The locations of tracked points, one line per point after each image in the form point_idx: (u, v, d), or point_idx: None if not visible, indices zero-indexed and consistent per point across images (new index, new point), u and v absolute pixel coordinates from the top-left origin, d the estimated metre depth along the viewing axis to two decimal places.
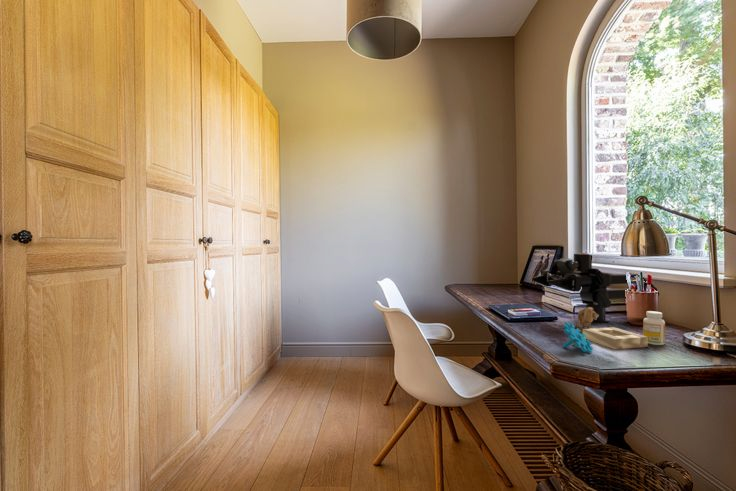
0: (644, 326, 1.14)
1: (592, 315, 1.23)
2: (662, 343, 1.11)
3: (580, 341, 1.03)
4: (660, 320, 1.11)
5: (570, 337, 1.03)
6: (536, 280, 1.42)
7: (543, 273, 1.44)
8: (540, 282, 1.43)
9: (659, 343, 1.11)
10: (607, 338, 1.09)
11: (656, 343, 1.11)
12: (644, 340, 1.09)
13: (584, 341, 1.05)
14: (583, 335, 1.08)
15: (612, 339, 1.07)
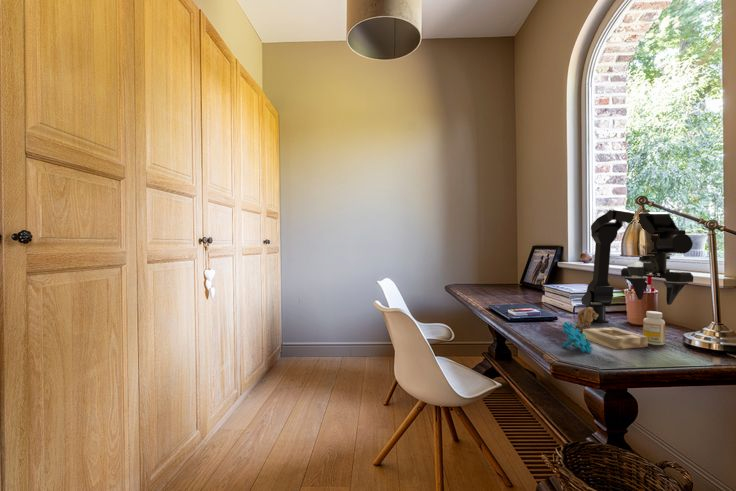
0: (644, 326, 1.14)
1: (592, 315, 1.23)
2: (662, 343, 1.11)
3: (579, 341, 1.04)
4: (660, 320, 1.11)
5: (569, 337, 1.03)
6: (641, 294, 1.17)
7: (631, 281, 1.18)
8: (643, 288, 1.18)
9: (659, 343, 1.11)
10: (607, 338, 1.09)
11: (656, 343, 1.11)
12: (644, 340, 1.09)
13: (583, 341, 1.05)
14: (583, 335, 1.08)
15: (612, 339, 1.07)
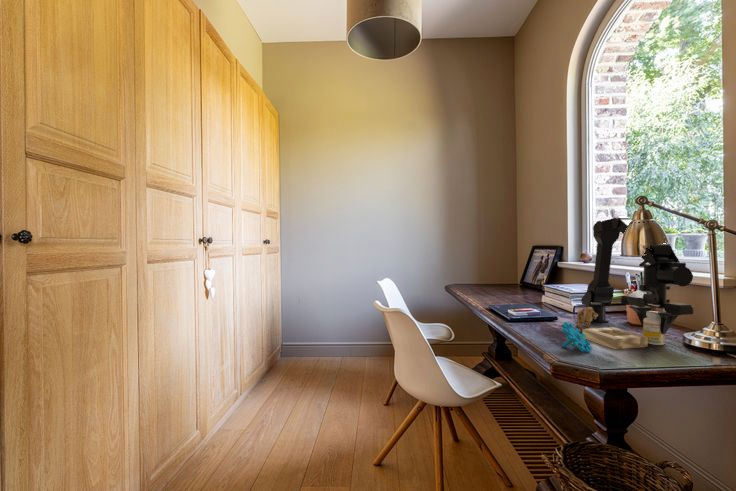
0: (644, 326, 1.14)
1: (592, 314, 1.24)
2: (662, 343, 1.11)
3: (578, 341, 1.04)
4: (660, 320, 1.11)
5: (568, 336, 1.03)
6: None
7: (636, 310, 1.17)
8: None
9: (659, 343, 1.11)
10: (607, 338, 1.09)
11: (656, 343, 1.11)
12: (644, 340, 1.09)
13: (583, 341, 1.05)
14: (582, 335, 1.08)
15: (612, 339, 1.07)
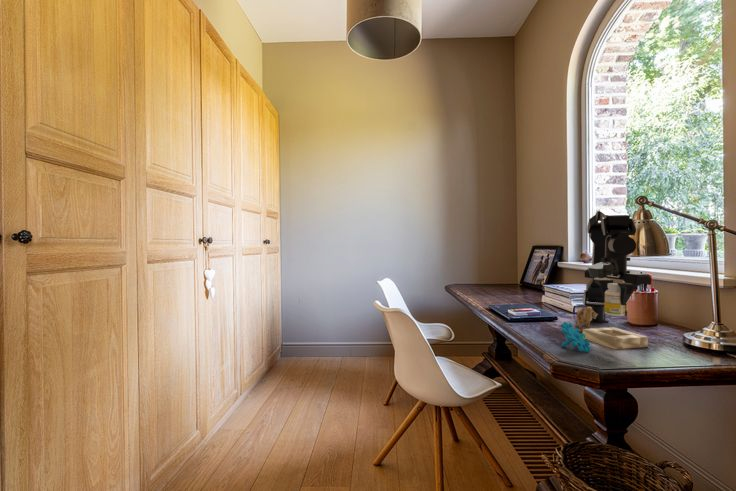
0: (605, 298, 1.14)
1: (591, 314, 1.24)
2: (622, 314, 1.11)
3: (577, 340, 1.04)
4: (620, 291, 1.11)
5: (567, 336, 1.03)
6: None
7: (598, 283, 1.17)
8: None
9: (619, 314, 1.11)
10: (607, 338, 1.09)
11: (616, 314, 1.11)
12: (644, 340, 1.09)
13: (582, 341, 1.05)
14: (582, 335, 1.08)
15: (612, 339, 1.07)
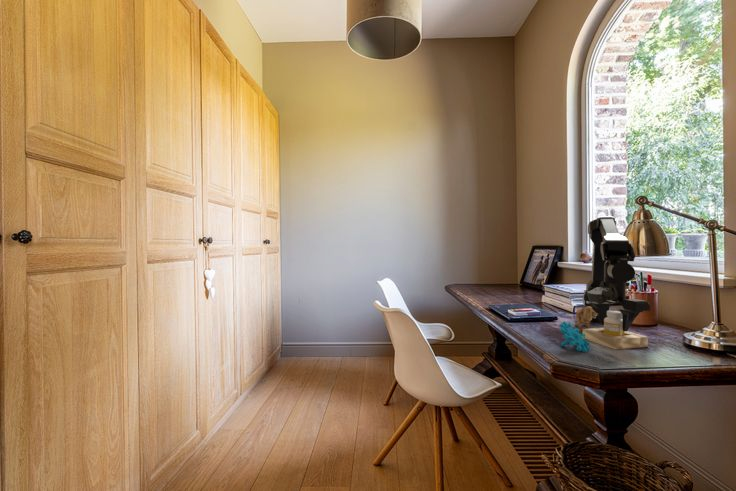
0: (604, 325, 1.14)
1: (591, 314, 1.25)
2: None
3: (576, 340, 1.04)
4: (619, 319, 1.12)
5: (565, 336, 1.04)
6: None
7: (595, 306, 1.18)
8: (606, 313, 1.18)
9: None
10: (607, 338, 1.09)
11: None
12: (644, 340, 1.09)
13: (581, 340, 1.06)
14: (581, 335, 1.08)
15: (612, 339, 1.07)
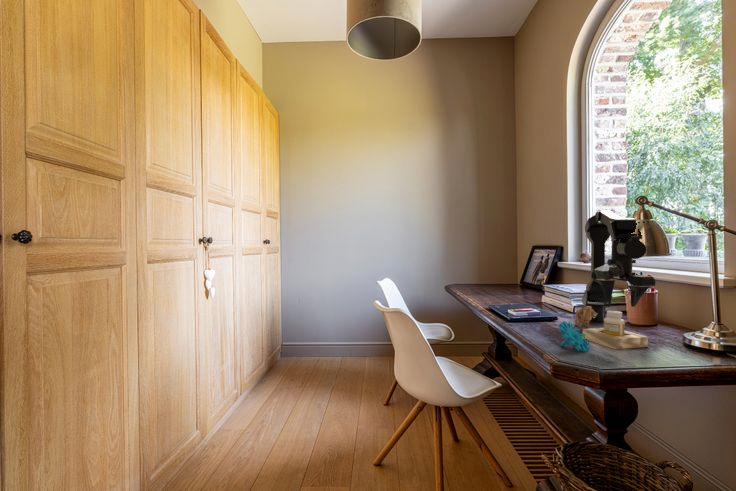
0: (604, 325, 1.14)
1: (591, 313, 1.25)
2: None
3: (575, 340, 1.05)
4: (619, 320, 1.11)
5: (564, 336, 1.04)
6: (610, 296, 1.23)
7: (600, 283, 1.24)
8: (611, 289, 1.23)
9: None
10: (607, 338, 1.09)
11: None
12: (644, 340, 1.09)
13: (580, 340, 1.06)
14: (581, 334, 1.08)
15: (612, 339, 1.07)
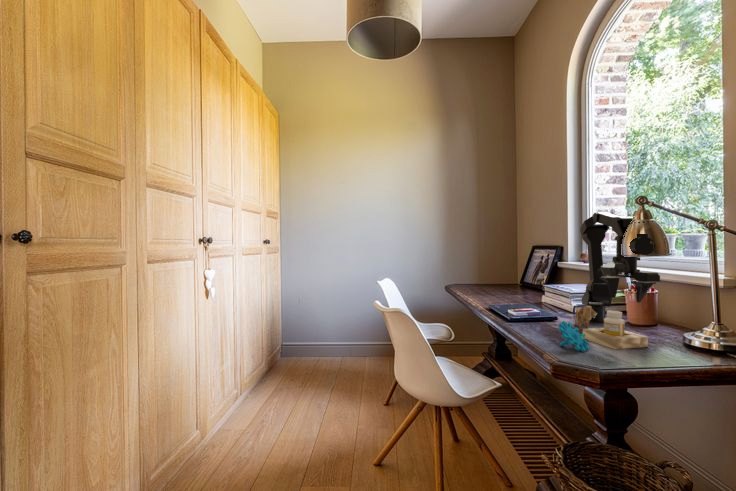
0: (604, 325, 1.14)
1: (591, 313, 1.26)
2: None
3: (574, 340, 1.05)
4: (619, 320, 1.11)
5: (563, 335, 1.04)
6: (615, 293, 1.26)
7: (605, 280, 1.27)
8: (616, 287, 1.26)
9: None
10: (607, 338, 1.09)
11: None
12: (644, 340, 1.09)
13: (580, 340, 1.06)
14: (581, 334, 1.08)
15: (612, 339, 1.07)
